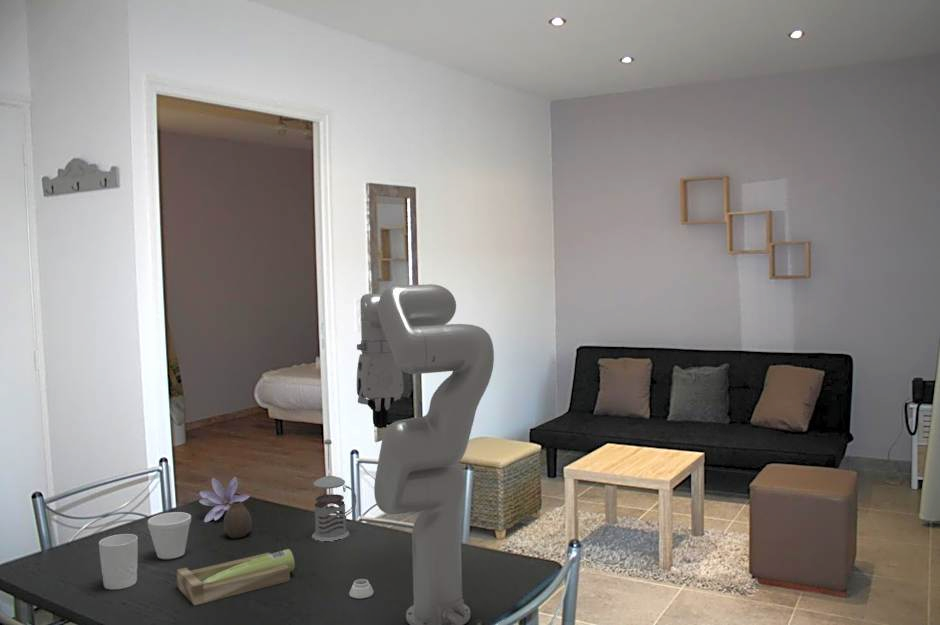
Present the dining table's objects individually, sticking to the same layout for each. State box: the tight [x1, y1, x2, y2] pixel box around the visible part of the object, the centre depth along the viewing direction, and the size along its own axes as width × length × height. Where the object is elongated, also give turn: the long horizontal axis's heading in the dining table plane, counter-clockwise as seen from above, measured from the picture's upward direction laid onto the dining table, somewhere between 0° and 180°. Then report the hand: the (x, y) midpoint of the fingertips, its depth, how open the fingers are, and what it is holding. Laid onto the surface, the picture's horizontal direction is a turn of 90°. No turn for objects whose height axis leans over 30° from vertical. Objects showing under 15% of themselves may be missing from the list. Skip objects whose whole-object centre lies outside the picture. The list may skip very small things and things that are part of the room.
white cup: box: [98, 533, 139, 590], centre depth 182 cm, size 8×8×10 cm
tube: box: [202, 548, 296, 583], centre depth 181 cm, size 6×5×20 cm
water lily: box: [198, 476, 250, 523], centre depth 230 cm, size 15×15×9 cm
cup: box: [147, 511, 192, 561], centre depth 199 cm, size 10×10×9 cm
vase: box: [223, 501, 252, 539], centre depth 212 cm, size 7×7×9 cm
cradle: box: [176, 552, 291, 606], centre depth 180 cm, size 12×21×4 cm, turn 125°
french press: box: [311, 438, 357, 542], centre depth 211 cm, size 10×12×25 cm
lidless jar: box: [348, 578, 374, 600], centre depth 173 cm, size 5×3×5 cm
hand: (380, 426), depth 189 cm, fingers closed
